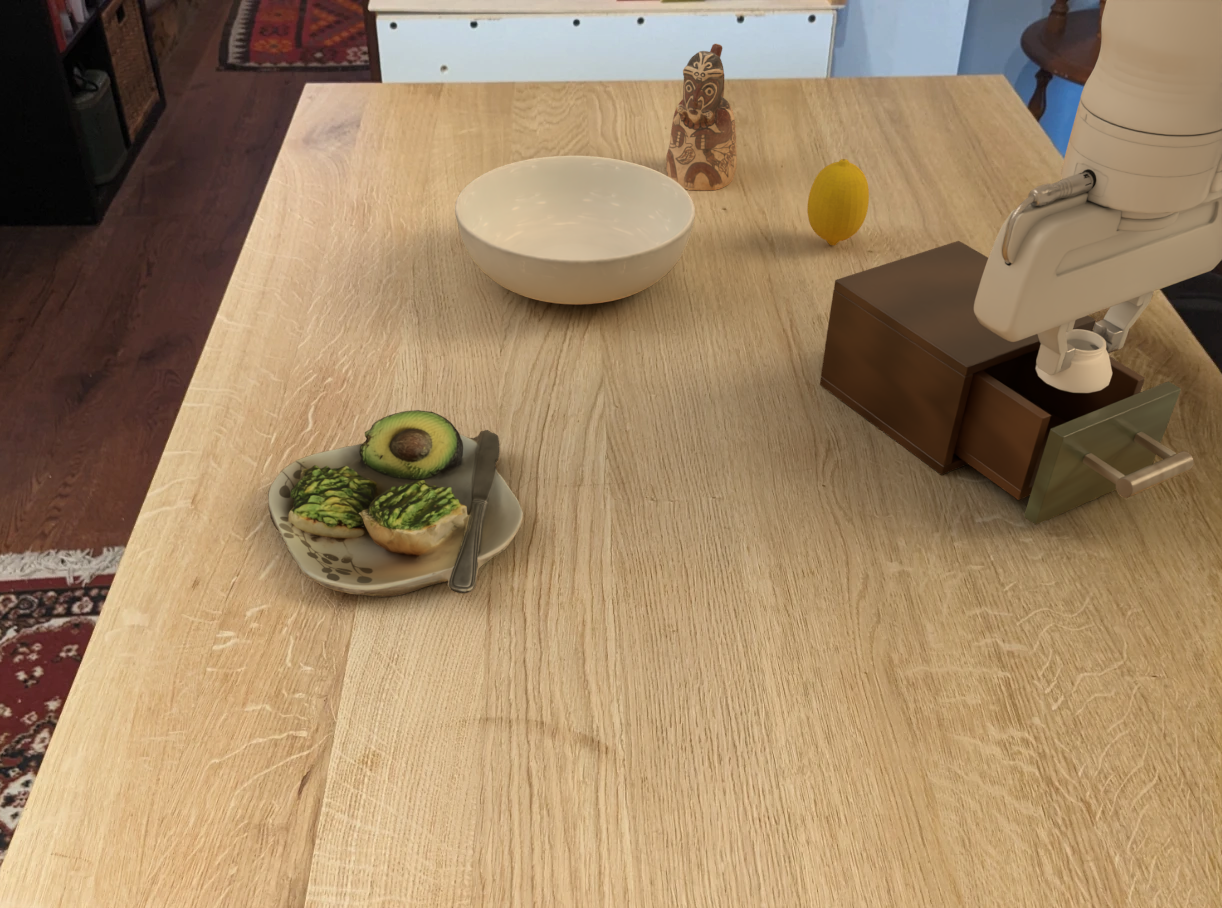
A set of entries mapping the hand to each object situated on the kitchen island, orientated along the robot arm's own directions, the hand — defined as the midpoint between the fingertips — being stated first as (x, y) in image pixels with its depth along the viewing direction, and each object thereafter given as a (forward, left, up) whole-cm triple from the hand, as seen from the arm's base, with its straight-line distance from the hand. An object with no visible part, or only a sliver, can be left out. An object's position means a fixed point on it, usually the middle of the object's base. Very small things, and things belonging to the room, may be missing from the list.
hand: (1078, 358), depth 88 cm
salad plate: (+43, -20, -10) cm, 49 cm away
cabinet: (0, -11, -10) cm, 15 cm away
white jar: (0, 0, -2) cm, 2 cm away
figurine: (-8, -56, -10) cm, 58 cm away
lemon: (-10, -37, -10) cm, 40 cm away
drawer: (0, 0, -9) cm, 9 cm away
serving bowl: (+14, -44, -10) cm, 48 cm away
